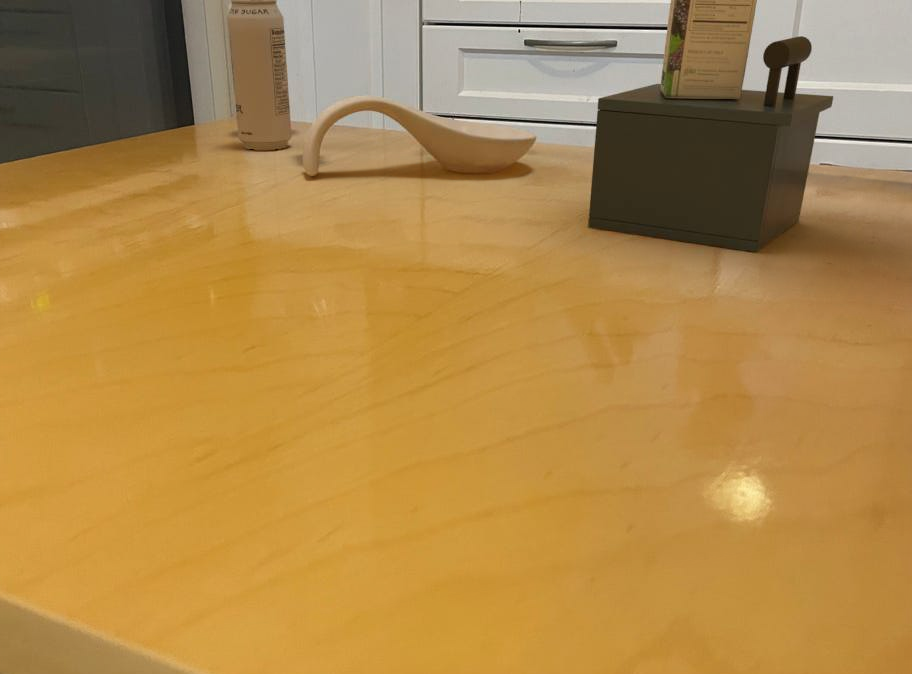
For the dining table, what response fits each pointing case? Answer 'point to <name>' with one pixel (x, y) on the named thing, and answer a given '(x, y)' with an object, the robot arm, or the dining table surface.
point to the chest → (699, 178)
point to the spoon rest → (430, 136)
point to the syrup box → (707, 48)
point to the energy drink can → (259, 74)
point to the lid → (751, 104)
